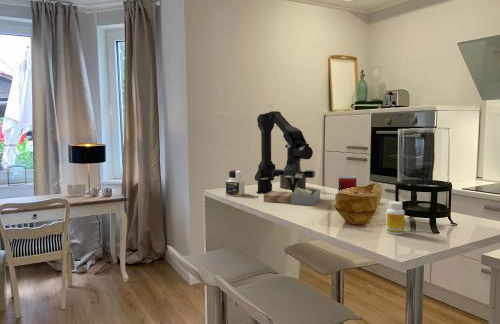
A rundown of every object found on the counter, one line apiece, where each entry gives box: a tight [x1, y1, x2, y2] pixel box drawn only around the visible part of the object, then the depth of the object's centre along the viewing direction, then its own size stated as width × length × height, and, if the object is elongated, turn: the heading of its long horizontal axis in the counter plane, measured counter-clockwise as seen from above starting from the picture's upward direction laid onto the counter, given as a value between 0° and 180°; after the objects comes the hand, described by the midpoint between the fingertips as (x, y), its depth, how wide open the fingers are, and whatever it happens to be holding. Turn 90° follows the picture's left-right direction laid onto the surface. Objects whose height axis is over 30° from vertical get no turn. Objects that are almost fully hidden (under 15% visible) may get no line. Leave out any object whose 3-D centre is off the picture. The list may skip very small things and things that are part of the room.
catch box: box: [290, 188, 321, 206], centre depth 174 cm, size 10×15×4 cm, turn 160°
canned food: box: [337, 174, 357, 193], centre depth 177 cm, size 8×8×11 cm
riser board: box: [263, 190, 293, 204], centre depth 178 cm, size 13×12×3 cm
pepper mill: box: [279, 159, 307, 191], centre depth 210 cm, size 16×11×18 cm
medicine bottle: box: [225, 169, 246, 197], centre depth 193 cm, size 7×7×12 cm
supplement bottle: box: [385, 200, 406, 236], centre depth 123 cm, size 5×5×10 cm
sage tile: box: [293, 187, 304, 194], centre depth 175 cm, size 4×4×3 cm
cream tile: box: [303, 188, 312, 195], centre depth 174 cm, size 4×4×3 cm
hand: (293, 192), depth 176 cm, fingers closed
